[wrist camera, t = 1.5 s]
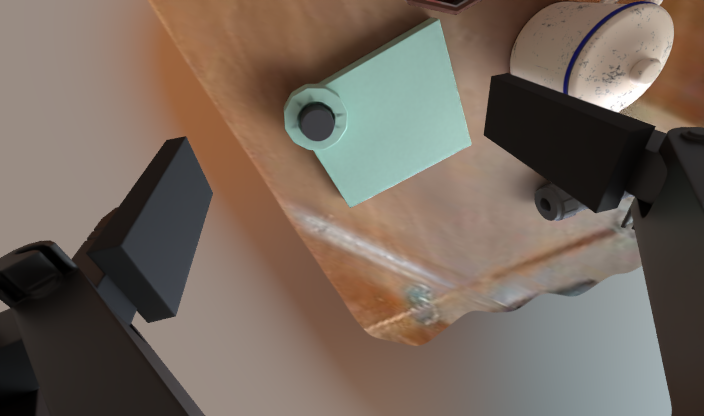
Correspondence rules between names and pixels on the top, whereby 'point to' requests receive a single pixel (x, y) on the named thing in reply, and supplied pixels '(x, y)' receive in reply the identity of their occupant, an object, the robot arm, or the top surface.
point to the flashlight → (558, 203)
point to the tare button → (316, 122)
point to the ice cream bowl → (444, 5)
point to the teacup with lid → (595, 49)
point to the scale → (386, 114)
